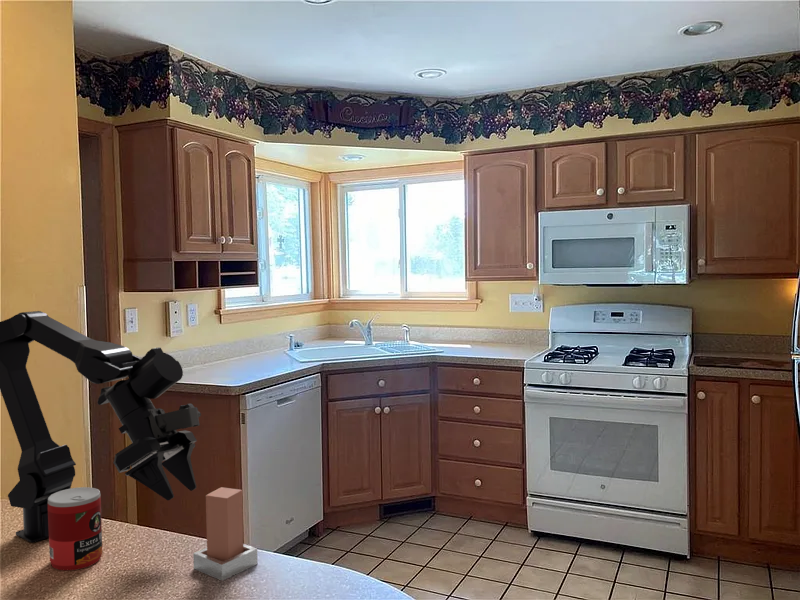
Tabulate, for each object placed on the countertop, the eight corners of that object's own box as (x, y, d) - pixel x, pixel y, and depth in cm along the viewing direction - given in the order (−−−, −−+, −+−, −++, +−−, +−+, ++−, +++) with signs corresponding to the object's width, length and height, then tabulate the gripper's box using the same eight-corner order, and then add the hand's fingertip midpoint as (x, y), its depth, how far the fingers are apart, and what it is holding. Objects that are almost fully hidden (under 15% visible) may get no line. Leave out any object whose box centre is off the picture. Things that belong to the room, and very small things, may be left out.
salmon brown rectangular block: (207, 569, 104) (205, 495, 103) (222, 559, 107) (221, 487, 107) (228, 573, 102) (227, 498, 102) (243, 562, 106) (242, 489, 105)
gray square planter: (193, 568, 104) (193, 553, 104) (229, 552, 110) (228, 538, 109) (222, 580, 100) (221, 564, 100) (257, 563, 105) (257, 548, 105)
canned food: (82, 573, 103) (80, 504, 102) (38, 569, 104) (35, 501, 104) (113, 552, 110) (111, 488, 110) (71, 548, 112) (69, 485, 111)
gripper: (152, 387, 101) (202, 475, 98) (198, 386, 119) (242, 460, 117) (91, 426, 101) (140, 515, 98) (147, 419, 119) (189, 494, 117)
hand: (183, 494), depth 108 cm, fingers open, 9 cm apart
